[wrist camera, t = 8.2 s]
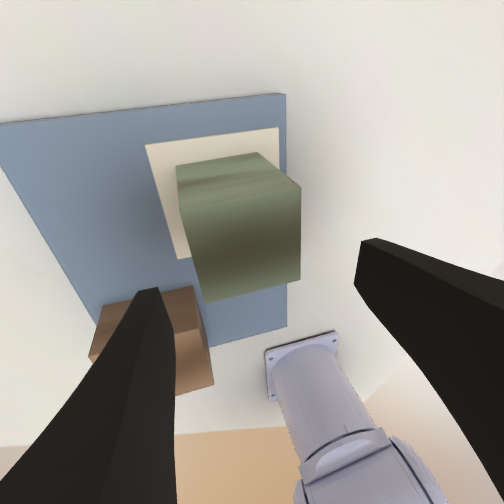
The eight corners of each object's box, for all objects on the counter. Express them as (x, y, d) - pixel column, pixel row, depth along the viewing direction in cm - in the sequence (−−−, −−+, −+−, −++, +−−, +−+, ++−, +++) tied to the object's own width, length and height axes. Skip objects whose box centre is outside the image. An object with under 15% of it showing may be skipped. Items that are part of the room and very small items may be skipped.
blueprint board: (282, 316, 25) (287, 328, 24) (125, 357, 22) (123, 372, 21) (278, 92, 15) (287, 94, 14) (-8, 124, 12) (-26, 128, 11)
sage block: (263, 223, 17) (300, 279, 12) (194, 238, 17) (204, 304, 12) (257, 151, 15) (300, 187, 10) (175, 165, 14) (179, 211, 9)
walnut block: (207, 339, 22) (214, 384, 19) (132, 359, 21) (125, 410, 18) (193, 285, 19) (198, 328, 16) (102, 305, 18) (87, 356, 14)
